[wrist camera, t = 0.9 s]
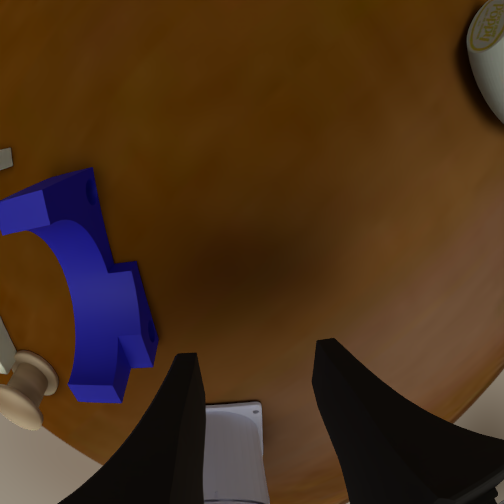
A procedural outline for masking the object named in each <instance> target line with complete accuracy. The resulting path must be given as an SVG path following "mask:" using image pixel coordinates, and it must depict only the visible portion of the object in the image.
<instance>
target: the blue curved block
mask: <svg viewBox="0 0 504 504" xmlns="http://www.w3.org/2000/svg"><path fill="white" fill-rule="evenodd" d="M0 229H1V233H2V235H6V234H10V233H15V232H19V231H24V230H27V231H31V232H33V233H35V234H36V235H38V236H40V237H41V238H42V239H43V240H44V241H45V242H46V243H47V244H48V245H49V247H50V248H51V249H52V251H53V252H54V254H55V255H56V257H57V259H58V261H59V263H60V265H61V267H62V269H63V272H64V274H65V277H66V280H67V283H68V286H69V290H70V294H71V299H72V304H73V310H74V317H75V331H76V345H75V357H74V364H73V369H72V373H71V376H70V379H69V382H68V386H69V387H70V389H71V391H72V392H73V394H74V395H75V397H76V399H77V400H78V401H79V402H99V403H122V401H123V397H124V393H125V389H126V385H127V381H128V377H129V374H130V370H131V368H146V367H153V365H154V360H155V355H156V350H157V345H158V341H159V339H158V336H157V332H156V329H155V326H154V323H153V319H152V316H151V313H150V309H149V306H148V303H147V299H146V295H145V292H144V288H143V285H142V281H141V277H140V273H139V269H138V265H137V261H133V262H125V263H117V264H114V262H113V258H112V254H111V250H110V246H109V242H108V238H107V234H106V230H105V226H104V222H103V217H102V213H101V208H100V204H99V199H98V194H97V189H96V183H95V178H94V172H93V167H91V168H87V169H83V170H78V171H74V172H70V173H66V174H62V175H59V176H55V177H51V178H49V179H46V180H44V181H41V182H39V183H37V184H35V185H32V186H30V187H28V188H26V189H24V190H21V191H19V192H17V193H15V194H13V195H11V196H9V197H7V198H5V199H3V200H1V201H0Z"/></svg>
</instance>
